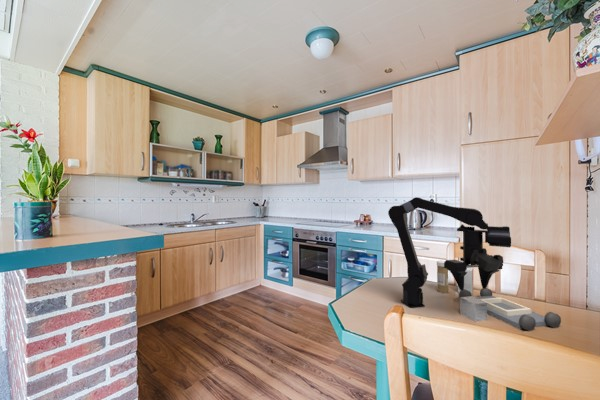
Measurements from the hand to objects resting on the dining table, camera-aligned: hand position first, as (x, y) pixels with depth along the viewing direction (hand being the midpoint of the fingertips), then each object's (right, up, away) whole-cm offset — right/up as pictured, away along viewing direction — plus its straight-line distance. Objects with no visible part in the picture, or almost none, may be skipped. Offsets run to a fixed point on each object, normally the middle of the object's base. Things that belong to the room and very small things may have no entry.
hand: (473, 289), depth 89 cm
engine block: (0, -10, 0) cm, 10 cm away
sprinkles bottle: (+3, -10, +25) cm, 27 cm away
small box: (+14, -10, +25) cm, 30 cm away
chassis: (+14, -10, +4) cm, 17 cm away
